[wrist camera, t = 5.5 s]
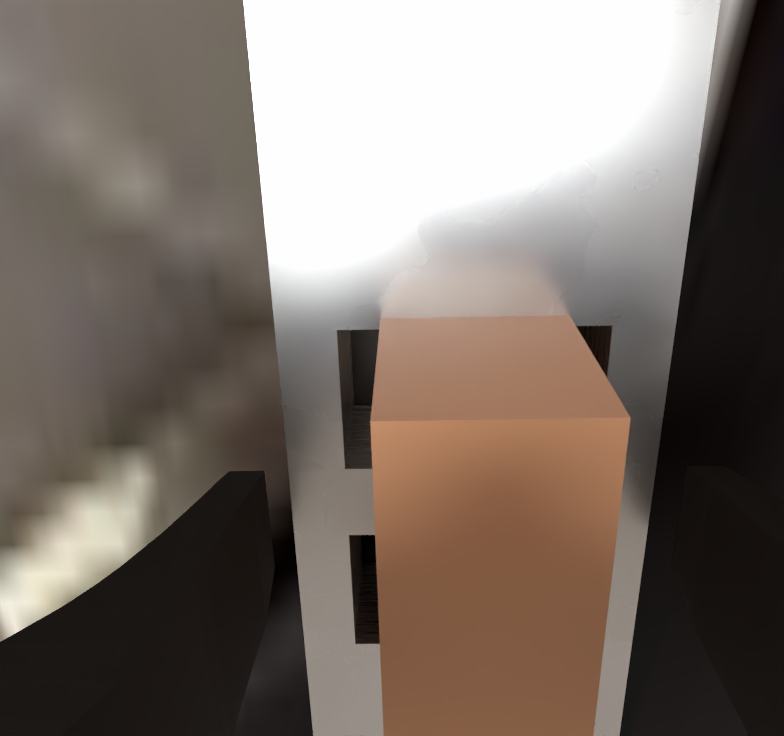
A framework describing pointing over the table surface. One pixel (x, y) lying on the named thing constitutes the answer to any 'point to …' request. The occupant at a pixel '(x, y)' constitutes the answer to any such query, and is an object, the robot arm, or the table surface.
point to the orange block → (493, 524)
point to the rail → (466, 245)
